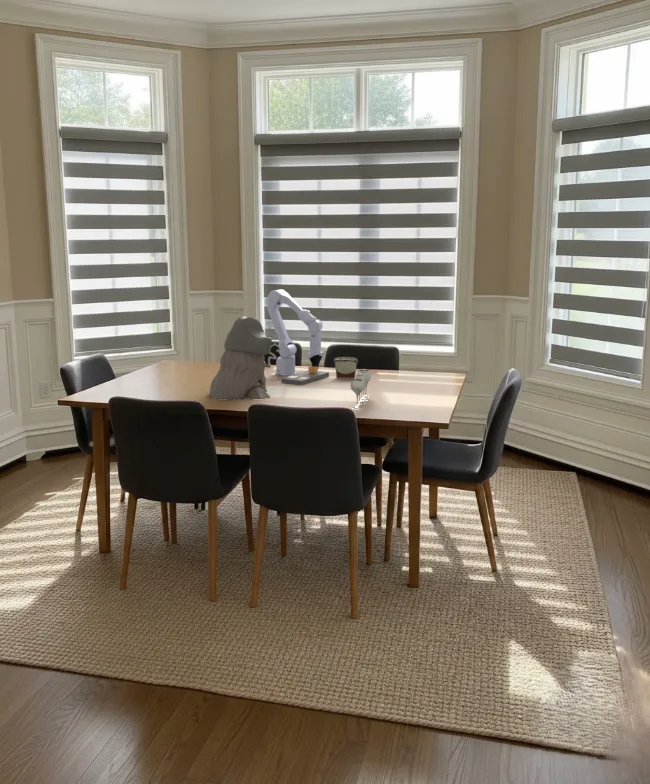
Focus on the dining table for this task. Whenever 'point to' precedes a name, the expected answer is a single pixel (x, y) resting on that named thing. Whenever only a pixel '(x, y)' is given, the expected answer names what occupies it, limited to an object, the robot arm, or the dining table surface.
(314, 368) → the fader
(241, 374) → the bust
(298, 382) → the console
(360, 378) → the goblet set
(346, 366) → the food container
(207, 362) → the dining table surface
